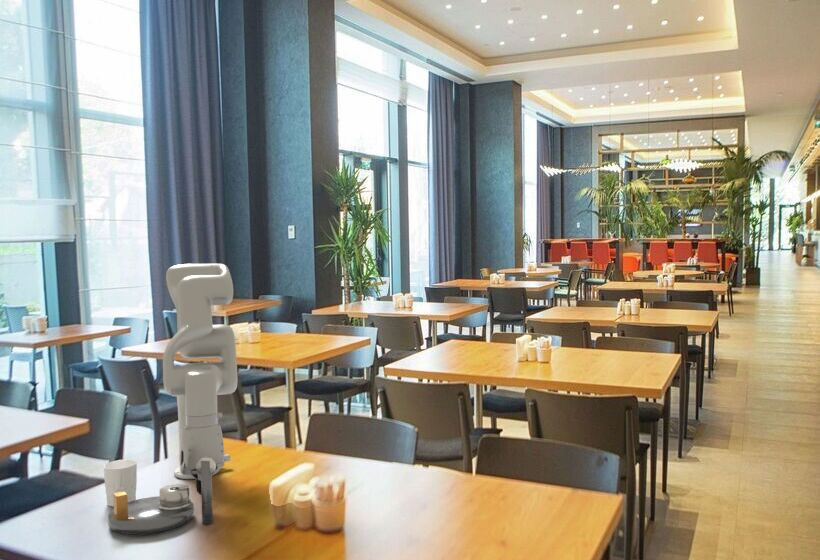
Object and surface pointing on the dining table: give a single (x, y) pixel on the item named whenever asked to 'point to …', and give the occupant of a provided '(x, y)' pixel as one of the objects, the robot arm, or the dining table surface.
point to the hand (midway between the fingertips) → (203, 493)
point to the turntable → (145, 515)
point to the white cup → (120, 479)
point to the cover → (174, 497)
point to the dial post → (206, 487)
